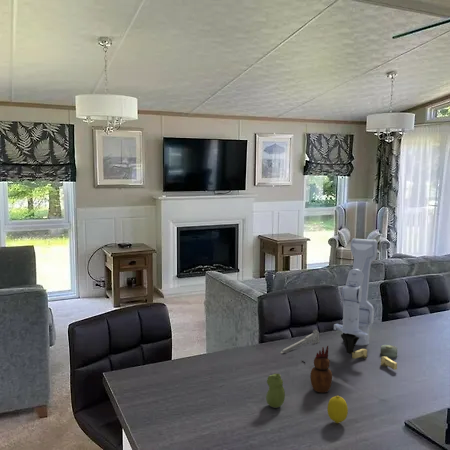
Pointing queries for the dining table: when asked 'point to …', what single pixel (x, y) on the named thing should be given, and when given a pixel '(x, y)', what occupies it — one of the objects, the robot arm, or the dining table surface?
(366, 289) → the robot arm
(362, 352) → the knob
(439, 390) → the dining table surface
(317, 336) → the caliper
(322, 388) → the wooden figurine
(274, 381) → the pear
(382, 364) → the knob
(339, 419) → the lemon
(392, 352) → the base
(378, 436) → the dining table surface
